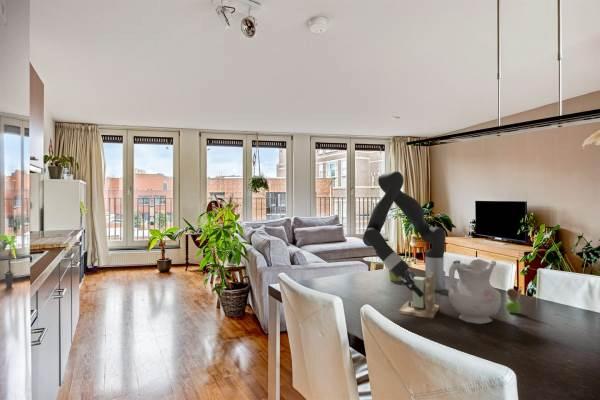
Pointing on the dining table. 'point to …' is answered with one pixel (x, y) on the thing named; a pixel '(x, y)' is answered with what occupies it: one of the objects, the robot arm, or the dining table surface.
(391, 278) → the plant pot
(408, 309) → the hinge base
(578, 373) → the dining table surface
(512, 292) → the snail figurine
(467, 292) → the ceramic pitcher
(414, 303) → the pale green block
